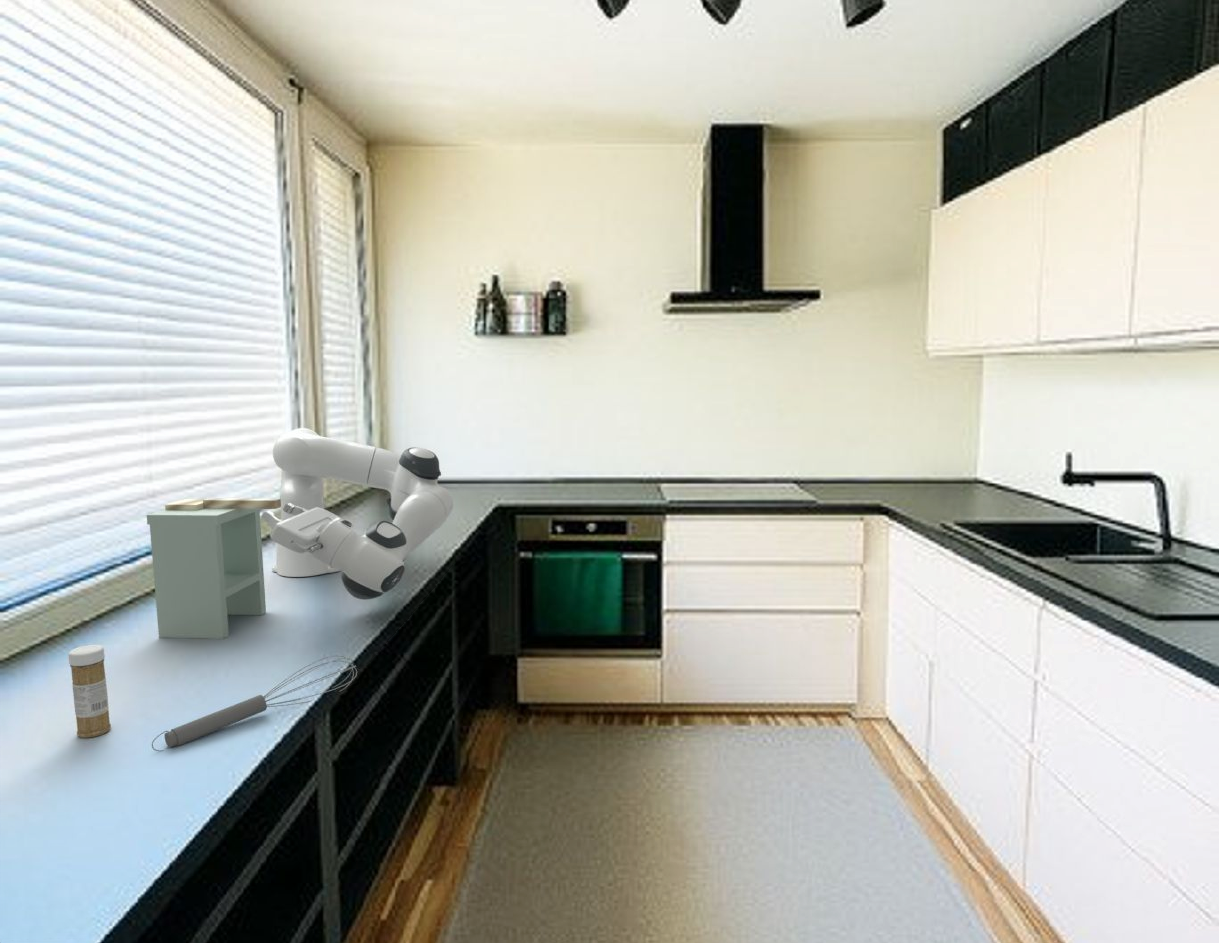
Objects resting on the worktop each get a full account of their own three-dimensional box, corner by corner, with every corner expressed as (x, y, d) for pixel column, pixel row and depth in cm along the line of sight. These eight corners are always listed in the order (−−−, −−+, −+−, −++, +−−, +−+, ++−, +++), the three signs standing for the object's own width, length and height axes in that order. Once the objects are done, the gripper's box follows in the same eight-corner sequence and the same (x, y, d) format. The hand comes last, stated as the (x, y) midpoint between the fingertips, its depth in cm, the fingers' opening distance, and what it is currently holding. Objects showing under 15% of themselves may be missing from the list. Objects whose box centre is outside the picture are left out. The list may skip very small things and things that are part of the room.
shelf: (205, 611, 187) (197, 500, 184) (268, 612, 186) (261, 500, 183) (156, 637, 169) (146, 514, 166) (225, 638, 168) (216, 515, 165)
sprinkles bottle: (106, 723, 129) (98, 641, 127) (115, 731, 126) (107, 648, 124) (72, 732, 125) (64, 649, 124) (81, 741, 122) (72, 656, 121)
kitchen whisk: (144, 748, 121) (141, 707, 120) (345, 681, 147) (343, 647, 146) (161, 761, 117) (158, 719, 116) (364, 689, 143) (363, 655, 142)
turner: (165, 510, 171) (164, 501, 171) (184, 504, 178) (184, 496, 178) (270, 510, 170) (270, 502, 169) (286, 505, 177) (285, 497, 176)
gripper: (302, 567, 163) (243, 532, 163) (343, 544, 183) (290, 513, 183) (316, 540, 162) (256, 505, 162) (355, 520, 182) (302, 490, 182)
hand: (274, 509), depth 173 cm, fingers open, 8 cm apart
